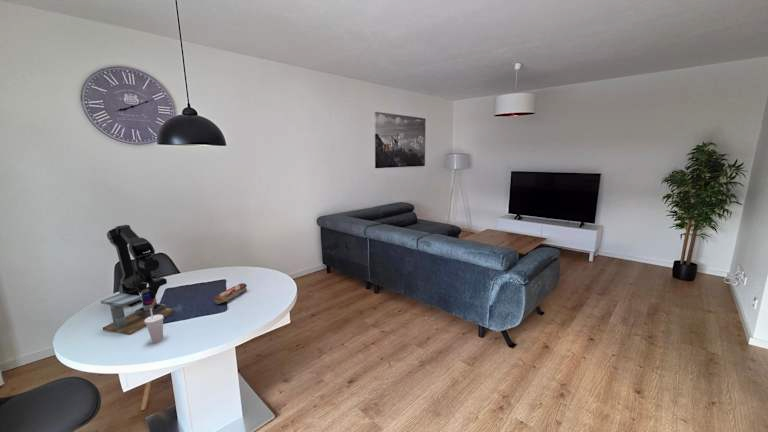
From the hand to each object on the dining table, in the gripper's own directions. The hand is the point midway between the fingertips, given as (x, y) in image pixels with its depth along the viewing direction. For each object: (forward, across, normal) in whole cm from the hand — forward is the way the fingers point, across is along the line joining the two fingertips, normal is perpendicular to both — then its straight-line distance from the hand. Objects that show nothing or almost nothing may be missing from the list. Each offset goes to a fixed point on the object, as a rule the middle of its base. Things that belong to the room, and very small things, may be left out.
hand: (148, 298), depth 150 cm
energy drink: (+8, 0, 0) cm, 8 cm away
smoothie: (+8, +23, -16) cm, 29 cm away
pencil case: (+9, +25, +25) cm, 36 cm away
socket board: (+8, 0, -6) cm, 10 cm away
